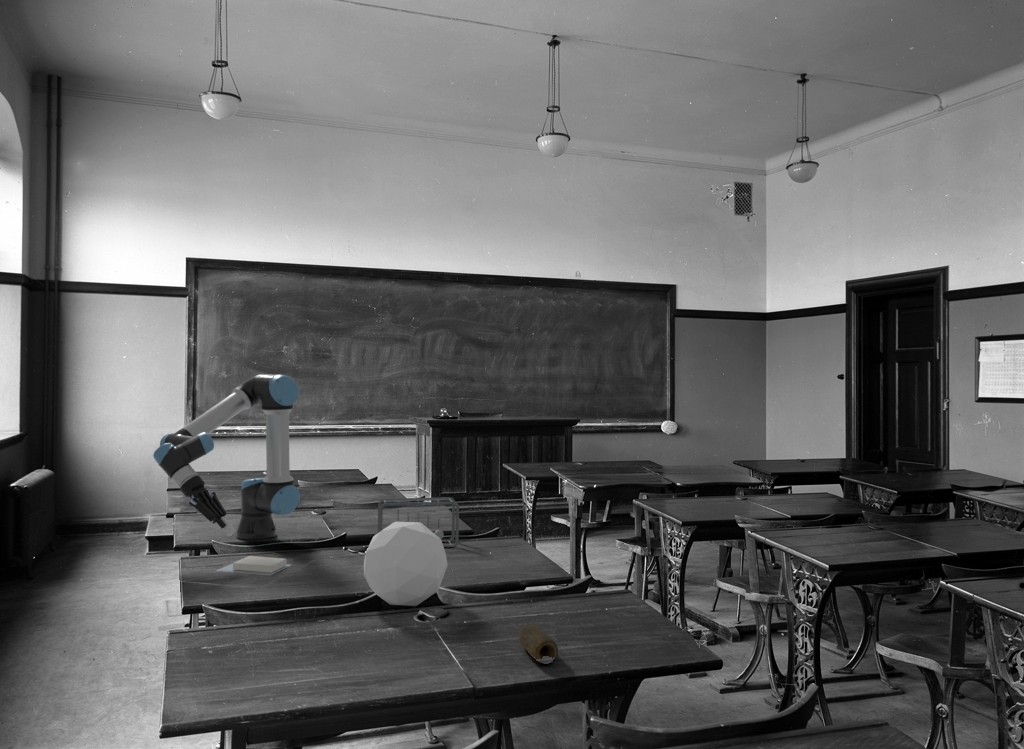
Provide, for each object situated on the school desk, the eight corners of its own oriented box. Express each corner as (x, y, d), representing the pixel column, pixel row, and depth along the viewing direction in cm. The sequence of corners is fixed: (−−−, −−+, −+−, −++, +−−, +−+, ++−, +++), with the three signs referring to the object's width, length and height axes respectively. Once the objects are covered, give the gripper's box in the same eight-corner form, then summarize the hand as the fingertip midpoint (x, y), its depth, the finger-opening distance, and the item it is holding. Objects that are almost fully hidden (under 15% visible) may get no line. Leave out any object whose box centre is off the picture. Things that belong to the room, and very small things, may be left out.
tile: (232, 562, 264) (271, 565, 261) (249, 555, 274) (286, 558, 271) (232, 570, 264) (271, 573, 261) (249, 563, 274) (286, 566, 271)
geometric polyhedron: (398, 624, 240) (410, 547, 255) (459, 610, 226) (468, 529, 241) (338, 599, 226) (354, 518, 241) (399, 582, 212) (412, 498, 227)
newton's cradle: (454, 541, 314) (455, 497, 314) (458, 548, 304) (459, 501, 304) (377, 544, 308) (378, 498, 308) (379, 550, 298) (379, 503, 297)
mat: (215, 571, 264) (215, 570, 264) (238, 561, 277) (238, 560, 277) (270, 576, 259) (270, 575, 259) (291, 566, 273) (291, 564, 273)
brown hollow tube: (563, 666, 187) (564, 637, 187) (535, 669, 185) (536, 641, 185) (539, 644, 201) (539, 618, 201) (513, 647, 199) (513, 621, 199)
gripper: (192, 486, 280) (235, 536, 277) (170, 492, 267) (214, 545, 264) (206, 472, 279) (249, 522, 276) (184, 477, 266) (229, 530, 263)
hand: (232, 533), depth 270 cm, fingers closed
